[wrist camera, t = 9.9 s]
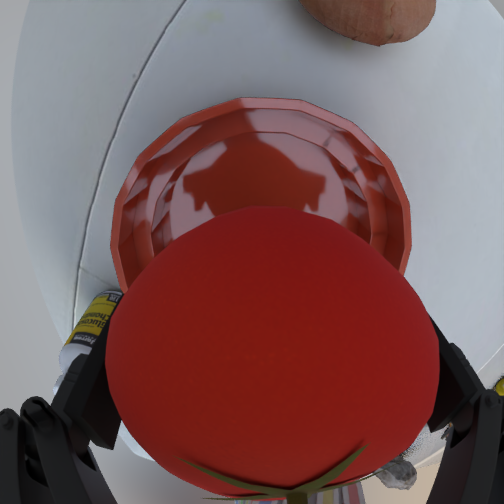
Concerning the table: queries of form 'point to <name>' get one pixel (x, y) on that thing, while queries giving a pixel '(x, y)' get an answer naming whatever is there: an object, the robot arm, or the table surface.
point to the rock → (397, 474)
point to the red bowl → (258, 179)
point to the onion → (373, 18)
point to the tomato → (272, 357)
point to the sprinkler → (500, 387)
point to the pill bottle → (87, 331)
